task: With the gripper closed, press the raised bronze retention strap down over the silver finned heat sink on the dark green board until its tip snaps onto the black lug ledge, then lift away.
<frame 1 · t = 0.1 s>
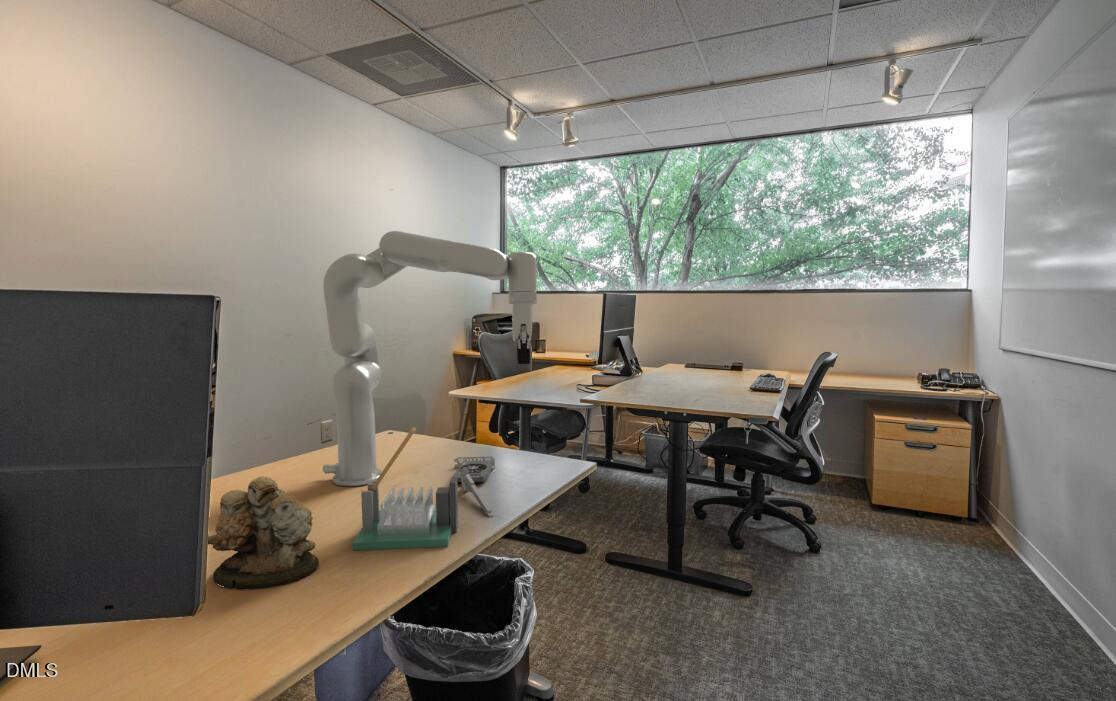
hand: (523, 361, 144), 31 cm above the table, tool pointing down, fingers open, 9 cm apart
graphics card: (470, 478, 146), on the table
lug: (445, 529, 111), on the table
strap: (391, 462, 108), point 15 cm above the table, hinge at 55.0°
owl figurine: (264, 573, 93), on the table
motherboard: (408, 530, 110), on the table
caliper: (476, 503, 126), on the table
heat sink: (408, 509, 110), point 4 cm above the table
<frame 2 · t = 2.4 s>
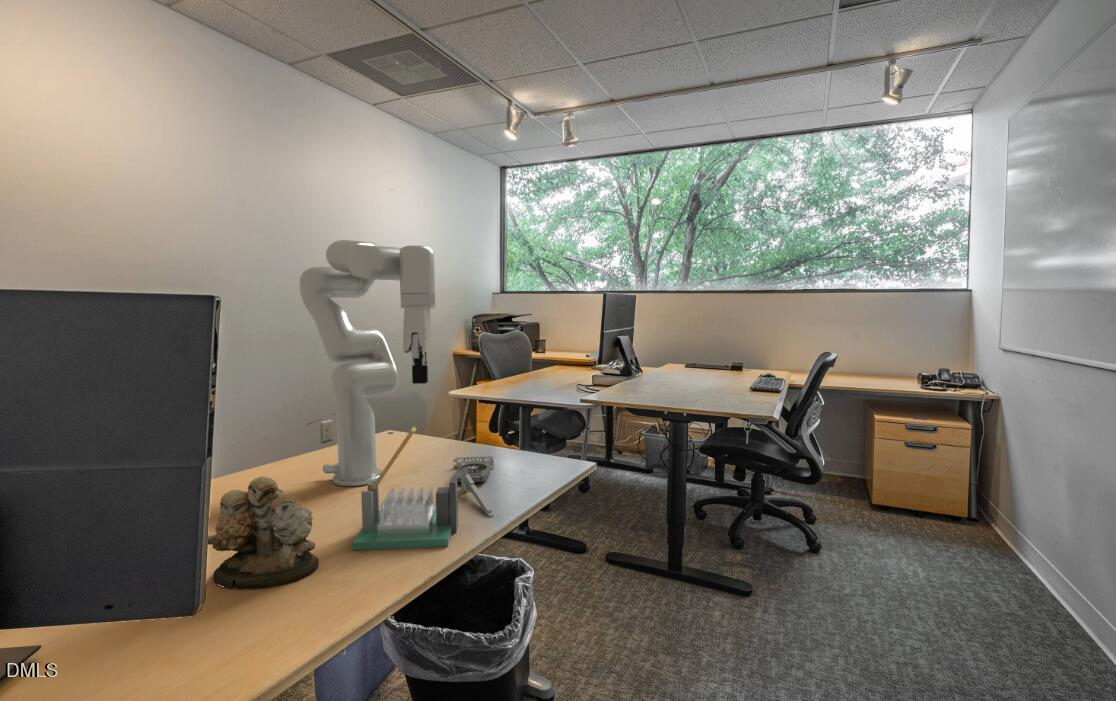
hand: (420, 382, 120), 29 cm above the table, tool pointing down, fingers closed
nothing on the table moved.
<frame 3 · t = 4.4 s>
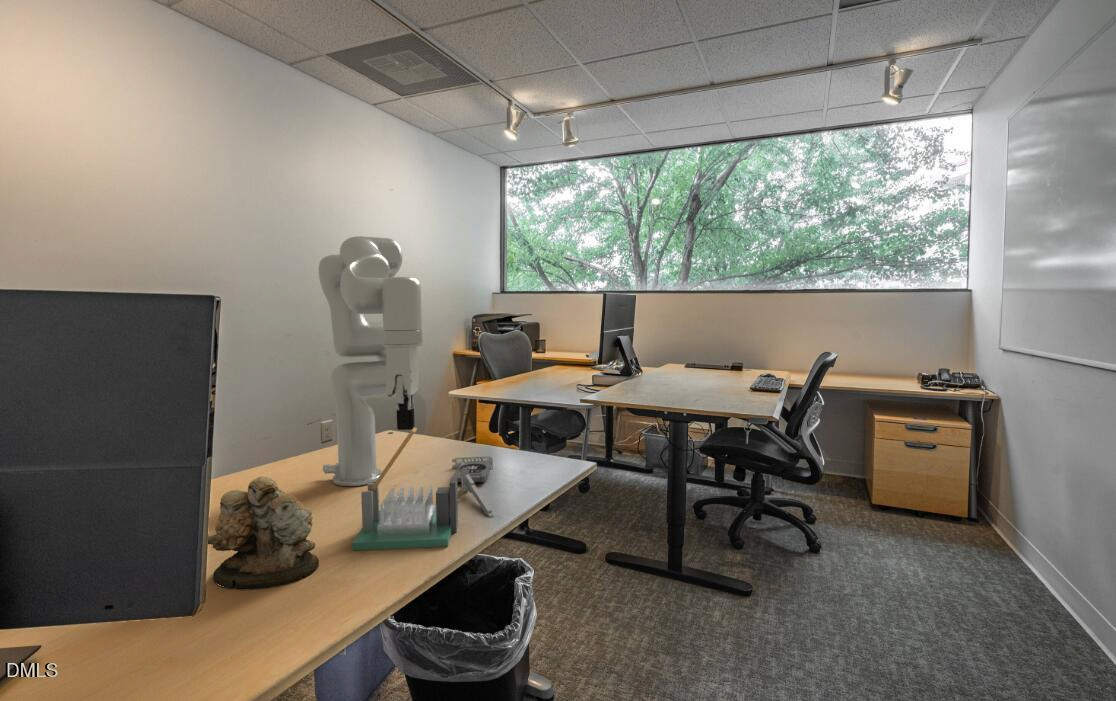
hand: (406, 428, 108), 22 cm above the table, tool pointing down, fingers closed
strap: (391, 462, 108), point 15 cm above the table, hinge at 54.6°, touching gripper
everything else where it was.
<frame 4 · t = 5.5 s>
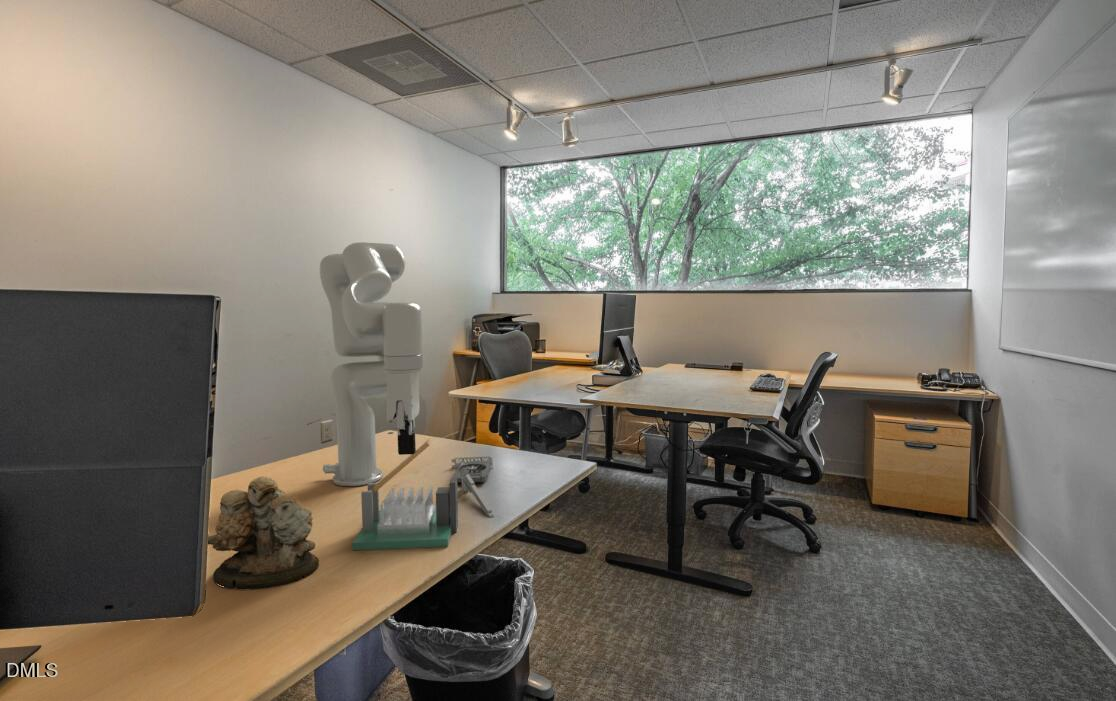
hand: (407, 453, 108), 17 cm above the table, tool pointing down, fingers closed
strap: (398, 468, 109), point 13 cm above the table, hinge at 40.2°, touching gripper
everything else where it was.
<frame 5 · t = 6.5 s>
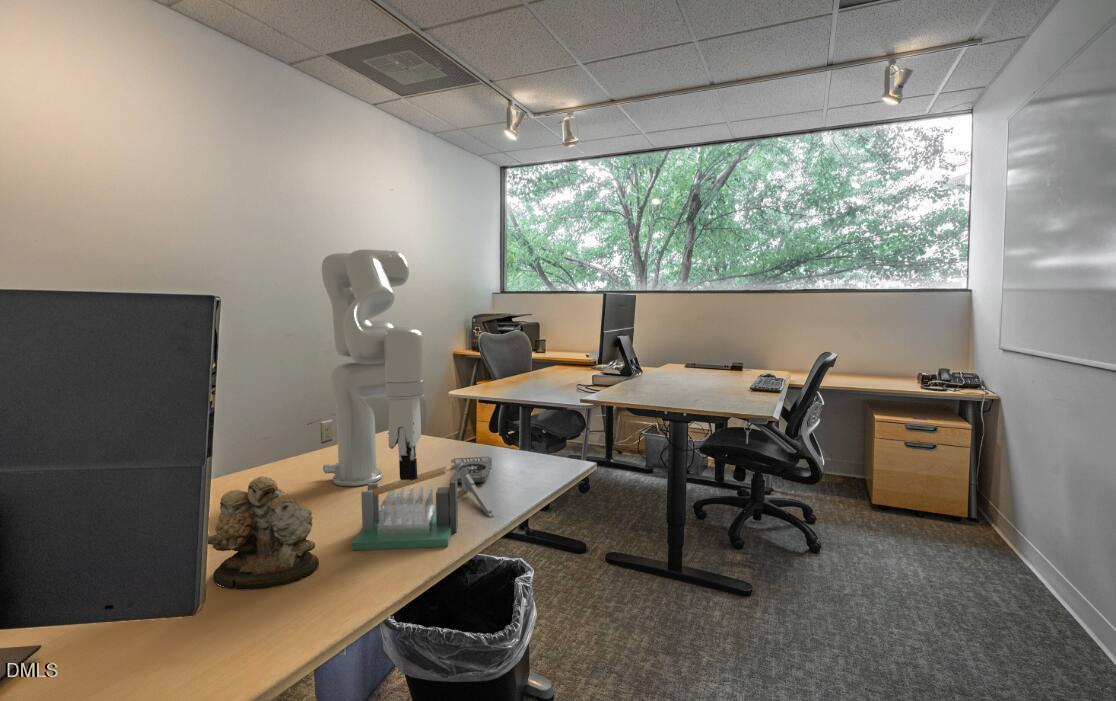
hand: (408, 478, 108), 11 cm above the table, tool pointing down, fingers closed
strap: (406, 482, 109), point 10 cm above the table, hinge at 15.6°, touching gripper
everything else where it was.
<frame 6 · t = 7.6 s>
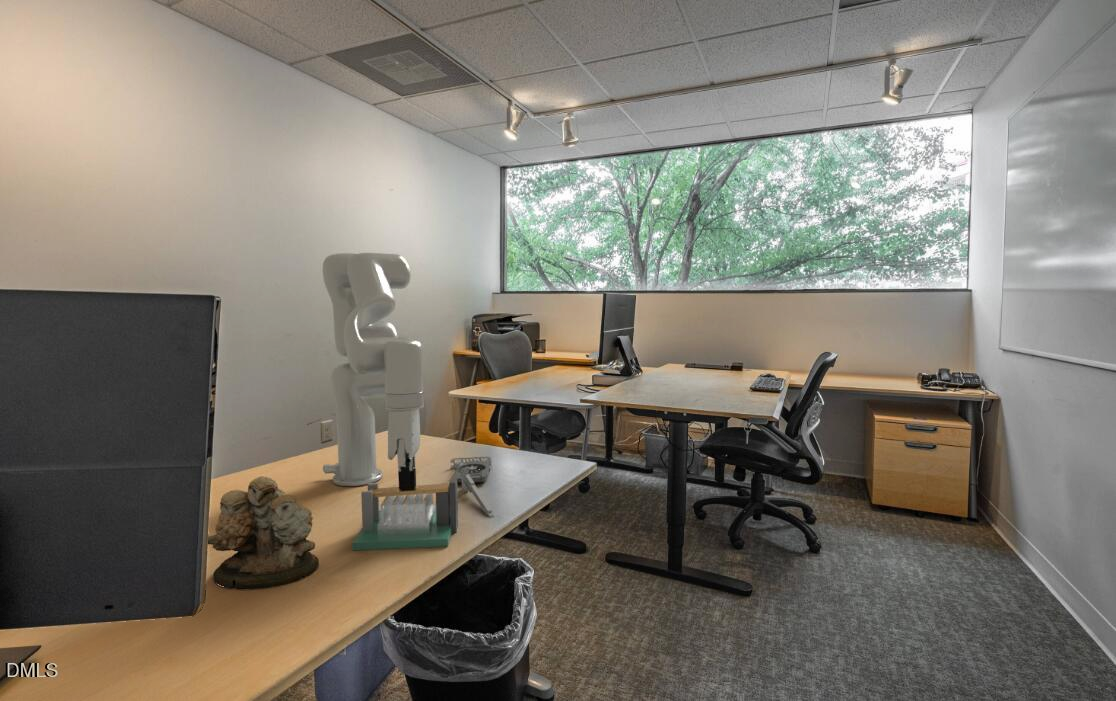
hand: (407, 488, 109), 9 cm above the table, tool pointing down, fingers closed
strap: (408, 490, 109), point 9 cm above the table, hinge at 2.1°, touching gripper, lug
everything else where it was.
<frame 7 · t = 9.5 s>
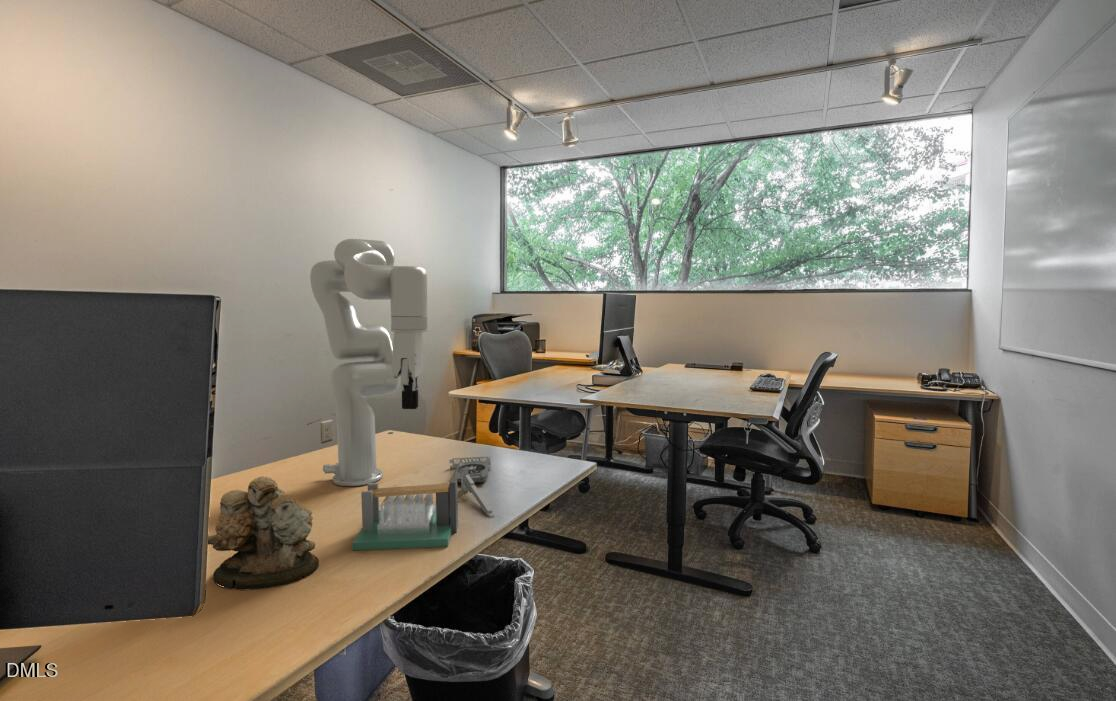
hand: (410, 408, 116), 24 cm above the table, tool pointing down, fingers closed
strap: (408, 490, 109), point 9 cm above the table, hinge at 2.1°, touching lug
everything else where it was.
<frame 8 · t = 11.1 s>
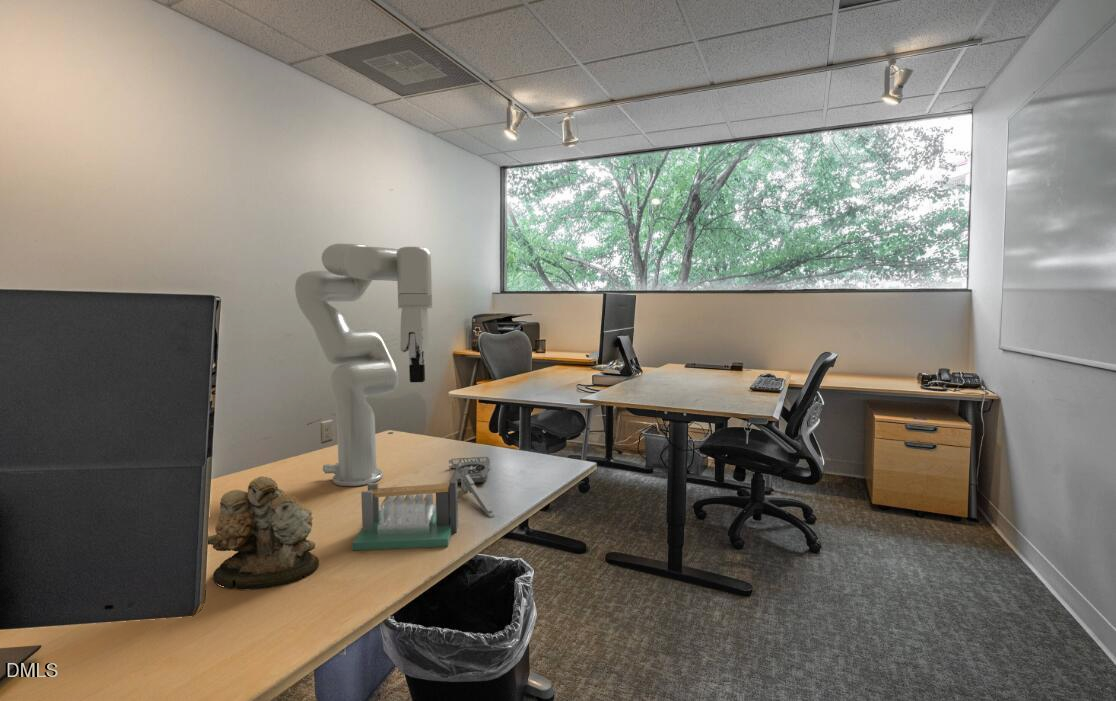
hand: (417, 381, 122), 29 cm above the table, tool pointing down, fingers closed
nothing on the table moved.
at the end: strap at +2° (first picture: +55°); strap touching lug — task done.
